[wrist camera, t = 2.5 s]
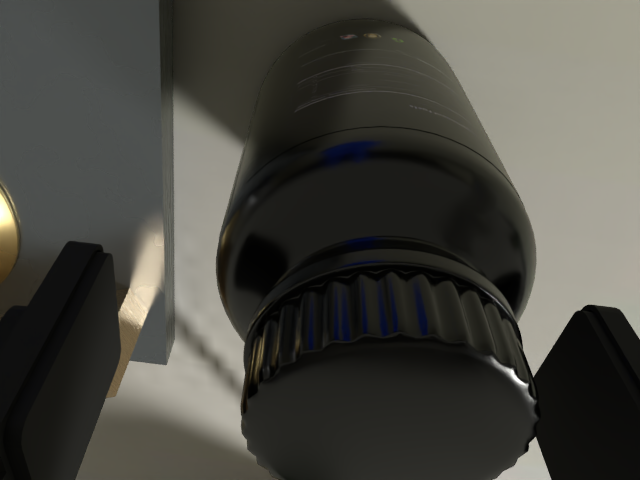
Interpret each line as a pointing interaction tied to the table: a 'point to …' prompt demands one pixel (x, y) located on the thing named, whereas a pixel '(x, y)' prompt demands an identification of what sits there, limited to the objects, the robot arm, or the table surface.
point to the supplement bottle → (377, 269)
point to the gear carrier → (90, 155)
